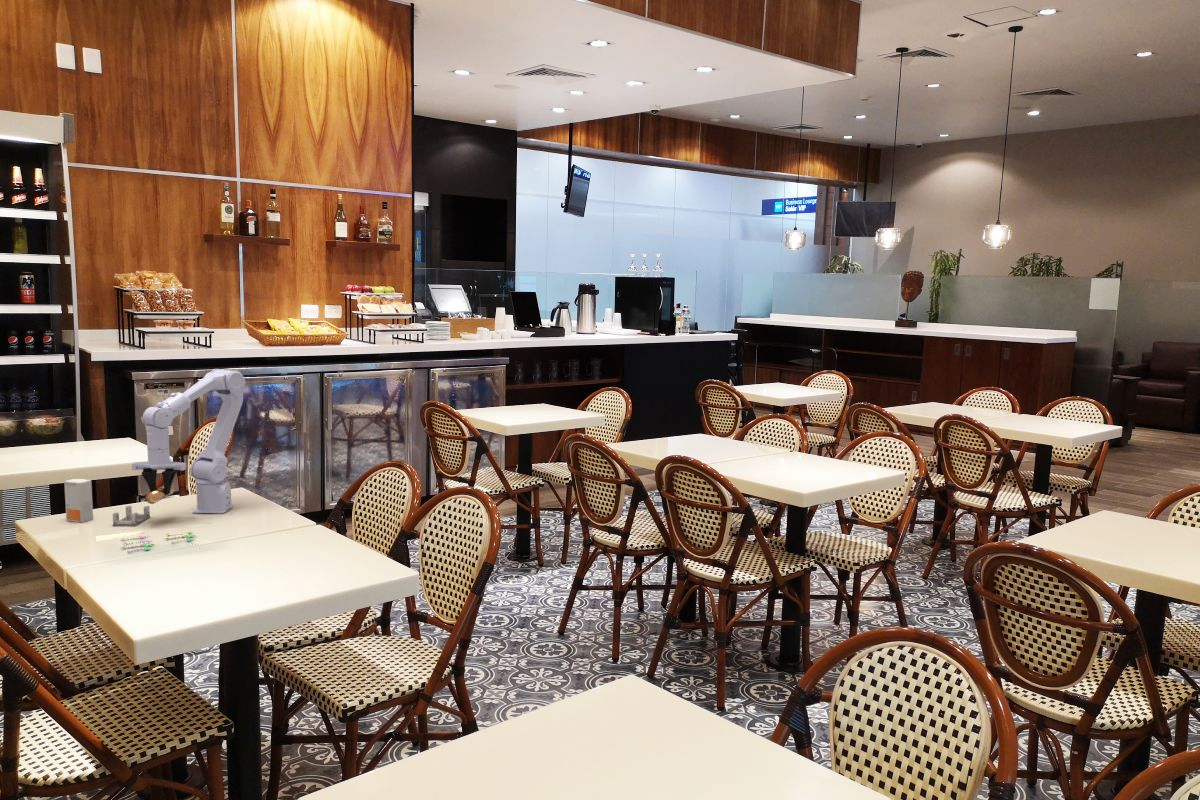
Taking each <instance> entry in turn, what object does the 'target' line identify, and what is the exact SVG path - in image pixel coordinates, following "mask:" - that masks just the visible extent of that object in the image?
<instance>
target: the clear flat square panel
mask: <svg viewBox="0 0 1200 800" xmlns="http://www.w3.org/2000/svg"><path fill="white" fill-rule="evenodd" d="M142 531H143V530H139V531H138V530H137V531H130V532H129V531H127V532H121V533H113V534H111V533H110V534H103V535H95V540H96V542H100V541H108V540H109V541H110V540H113V538H115V539H120V538H121V542H122V541H125V542H123V543H122V544H123V546H120V549H122V551H123V550H126V549H133V550H127V553H132V552H136V551H138V552H139V551H145V552H147V550H148V551H150V550H151V551H152V547H153V548H154V546H155V544H153V543H152V542H151V540H149V539H148V537H151V536H149V535H148V534H146V535H147V536H146V535H145V536H144V535H139V536H137V537H131V536H130V535H135V534H138V533H140V532H142ZM189 532H190V531H189ZM184 533H188V531H185V532H184ZM193 533H195V532H193V531H191V532H190V534H188V535H187V534H186V535H182V536H174V537H170V536H168V535H169V533H166V537H165V538H164V537H163V539H164V540H166V541H169V540H175V541H170V543H171V544H175V543H178V542H186V541H187V542H191V541H195V539H194V537H195V536H194V534H193ZM125 535H126V536H125ZM123 536H125V537H123ZM127 536H129V537H131V538H128V537H127ZM135 536H136V535H135ZM116 537H118V538H116ZM180 537H181V538H182V537H184V538H185V539H181V538H180ZM189 537H191V538H189ZM125 538H126V539H125ZM146 538H147V539H146ZM175 538H177V539H180V540H176V539H175ZM139 539H140V541H139V542H137V541H136V542H135V543H136V544H139V545H134V544H133V543H134V542H129V543H127V542H126V541H129V540H139ZM143 539H146V540H143ZM147 541H148V543H145V542H147ZM141 542H142V543H141ZM125 544H126V545H125ZM190 544H192V545H193V544H195V543H194V542H191V543H190ZM127 545H131V546H127ZM126 546H127V547H126ZM147 546H149V547H147ZM138 547H140V548H138ZM141 547H143V548H141ZM134 548H137V549H134Z"/></svg>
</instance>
